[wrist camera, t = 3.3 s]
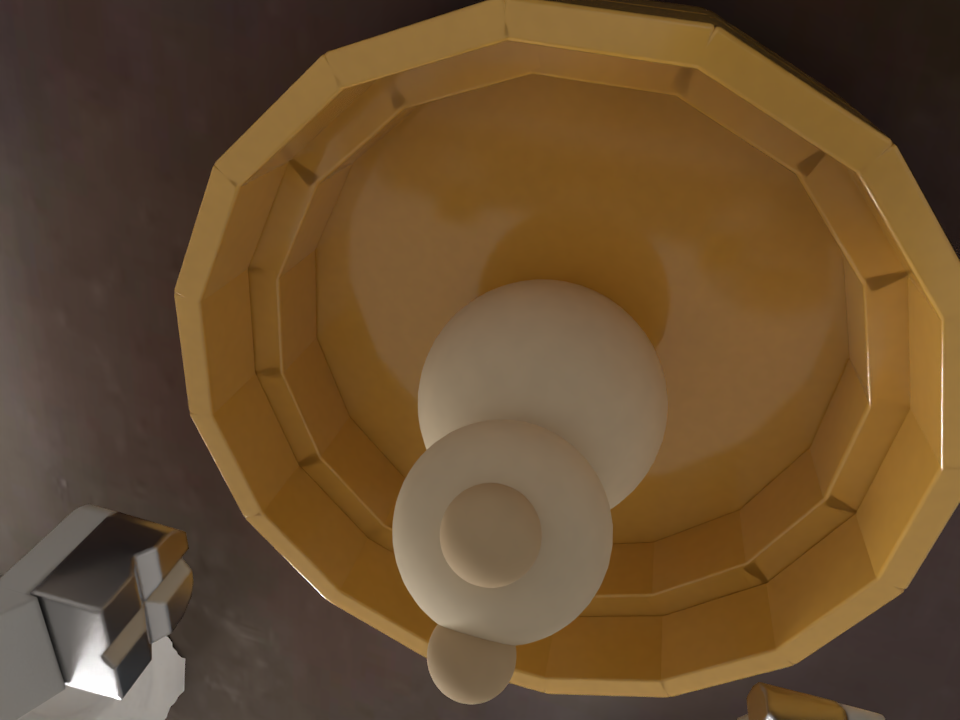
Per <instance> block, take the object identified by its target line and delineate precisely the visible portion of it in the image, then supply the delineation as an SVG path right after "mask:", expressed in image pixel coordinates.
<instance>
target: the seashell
mask: <svg viewBox="0 0 960 720" xmlns="http://www.w3.org/2000/svg"><path fill="white" fill-rule="evenodd" d="M170 641H171V640H170V639H169V638H168V637H167V636H165V637H163V638H161V639H159V640H158V641H156V642H154V643H152V660H151V661H150V663H149V664H148V665H147V667H146V668H145V669H144V671H143V672H142V674H141V675H140V676H139V678H138V679H137V680H136V682H135V683H134V684H133V686H132V687H131V688H130V690H129V691H128V692H127V694H126V695H125V696H124V698H123V699H122V700H119V699H115V698H112V697H108V696H104V695H101V694H97V693H93V692H90V691H86V690H82V689H79V688H75V687H71V686H68V685H65V687H66V688H65V690H63V691H61V692H60V693H58V694H57V695H55V696H54V697H52V698H50V699H49V700H47V701H46V702H44V703H42V704H41V705H39V706H38V707H36V708H34V709H33V710H31V711H30V712H28V713H26V714H25V715H23V716H22V717H20V718H19V719H17V720H165V719H166V718H167V715H168V712H169V710H170V707H171V705H173V704H174V703H175V702H176V700H177V698H178V696H179V695H180V694H182V693H183V692H184V681H185V659H186V658H181V657H180V656H179V655H178V654H177V651H176V650H175V649H174V648H173V647H172V642H170Z"/></svg>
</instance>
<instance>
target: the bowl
mask: <svg viewBox="0 0 960 720" xmlns="http://www.w3.org/2000/svg"><path fill="white" fill-rule="evenodd" d="M536 279H542V280H558V281H565V282H569V283H573V284H577V285H581V286H584V287H586V288H589V289H591V290H594V291H596V292H598V293H600V294H602V295H603V296H605V297H607V298H609V299H610V300H612V301H613V302H614V303H616V304H617V305H619V306H620V307H621V308H622V309H624V310H625V311H626V312H627V313H628V314H629V315H630V316H631V317H632V318H633V319H634V320H635V321H636V323H637V324H638V325H639V326H640V327H641V329H642V330H643V331H644V332H645V334H646V335H647V337H648V338H649V340H650V342H651V343H652V345H653V347H654V349H655V351H656V354H657V356H658V358H659V361H660V363H661V366H662V369H663V373H664V377H665V381H666V390H667V400H668V410H667V422H666V428H665V432H664V437H663V441H662V443H661V446H660V449H659V451H658V454H657V456H656V458H655V461H654V463H653V464H652V466H651V468H650V469H649V471H648V473H647V474H646V476H645V477H644V478H643V480H642V481H641V482H640V483H639V485H638V486H637V487H636V488H635V490H634V491H633V492H632V493H630V494H629V495H628V496H627V497H626V498H625V499H624V500H623V501H621V502H620V503H619V504H618V505H616V506H615V507H613V508H612V509H610V511H611V517H612V523H613V545H612V551H611V556H610V561H609V566H608V569H607V571H606V574H605V577H604V579H603V581H602V584H601V586H600V588H599V590H598V591H597V593H596V594H595V596H594V597H593V599H592V601H591V602H590V604H589V605H588V606H587V607H586V608H585V609H584V610H583V612H582V613H581V614H580V615H579V616H578V617H577V618H576V619H575V620H573V621H572V622H571V623H570V624H568V625H567V626H565V627H564V628H562V629H561V630H559V631H558V632H556V633H554V634H552V635H551V636H548V637H546V638H543V639H541V640H538V641H535V642H532V643H528V644H523V645H516V665H515V669H514V673H513V676H512V678H511V680H510V681H509V683H511V684H514V685H518V686H521V687H525V688H528V689H532V690H535V691H539V692H542V693H545V692H546V694H565V695H598V696H631V697H664V698H668V697H669V696H670V697H674V696H678V695H681V694H685V693H689V692H693V691H697V690H701V689H705V688H709V687H713V686H717V685H721V684H724V683H728V682H732V681H736V680H740V679H744V678H748V677H752V676H756V675H760V674H763V673H767V672H771V671H775V670H779V669H783V668H787V667H791V666H793V664H797V663H799V662H800V661H802V660H803V659H805V658H806V657H808V656H809V655H811V654H812V653H814V652H815V651H817V650H818V649H820V648H821V647H823V646H824V645H826V644H827V643H829V642H830V641H832V640H833V639H835V638H836V637H838V636H839V635H841V634H842V633H844V632H845V631H847V630H848V629H850V628H851V627H853V626H854V625H856V624H857V623H859V622H860V621H862V620H863V619H865V618H866V617H867V616H869V615H870V614H872V613H873V612H875V611H876V610H878V609H879V608H881V607H882V606H884V605H885V604H887V603H888V602H890V601H891V600H893V599H894V598H896V597H897V596H899V595H900V594H902V593H903V592H904V589H907V588H908V586H909V584H910V583H911V581H912V579H913V578H914V576H915V575H916V573H917V571H918V570H919V568H920V566H921V565H922V563H923V562H924V560H925V558H926V557H927V555H928V553H929V552H930V550H931V548H932V547H933V545H934V544H935V542H936V540H937V539H938V537H939V535H940V534H941V532H942V531H943V529H944V527H945V526H946V524H947V522H948V521H949V519H950V517H951V516H952V514H953V513H954V511H955V509H956V508H957V506H958V504H959V503H960V260H959V258H958V256H957V254H956V252H955V250H954V249H953V247H952V245H951V243H950V241H949V239H948V238H947V236H946V234H945V232H944V230H943V229H942V227H941V225H940V223H939V221H938V219H937V218H936V216H935V214H934V212H933V210H932V208H931V207H930V205H929V203H928V201H927V199H926V197H925V196H924V194H923V192H922V190H921V188H920V187H919V185H918V183H917V181H916V179H915V177H914V176H913V174H912V172H911V170H910V168H909V166H908V165H907V163H906V161H905V159H904V157H903V156H902V154H901V152H900V150H899V148H898V146H897V145H895V144H894V143H893V142H892V141H891V139H890V138H889V137H888V136H886V135H885V134H884V133H883V132H882V131H881V130H879V129H878V128H877V127H876V126H875V125H873V124H872V123H871V122H870V121H869V120H868V119H866V118H865V117H864V116H863V115H861V114H860V113H859V112H858V111H857V110H856V109H854V108H853V107H852V106H851V105H850V104H849V103H847V102H846V101H845V100H844V99H843V98H841V97H840V96H839V95H838V94H836V93H835V92H833V91H832V90H830V89H829V88H827V87H826V86H824V85H823V84H821V83H820V82H818V81H816V80H815V79H813V78H812V77H810V76H809V75H807V74H806V73H804V72H803V71H801V70H800V69H798V68H797V67H795V66H794V65H792V64H791V63H789V62H788V61H786V60H785V59H783V58H782V57H780V56H779V55H777V54H776V53H774V52H773V51H771V50H770V49H768V48H767V47H765V46H764V45H762V44H761V43H759V42H758V41H756V40H754V39H753V38H751V37H750V36H748V35H747V34H745V33H744V32H742V31H741V30H739V29H738V28H736V27H735V26H733V25H732V24H730V23H729V22H727V21H726V20H724V19H723V18H721V17H720V16H718V15H717V14H715V13H714V12H712V11H710V10H707V11H706V9H705V8H703V7H696V6H689V5H681V4H674V3H666V2H659V1H652V0H486V1H483V2H480V3H477V4H473V5H470V6H467V7H464V8H461V9H458V10H455V11H452V12H449V13H445V14H442V15H439V16H436V17H433V18H430V19H427V20H424V21H421V22H417V23H414V24H411V25H408V26H405V27H402V28H399V29H396V30H393V31H389V32H386V33H383V34H380V35H377V36H374V37H371V38H368V39H365V40H361V41H358V42H355V43H352V44H349V45H346V46H343V47H340V48H337V49H333V50H330V51H327V52H326V53H325V54H323V55H321V56H320V57H319V58H318V59H317V60H316V61H315V62H314V63H313V64H312V65H311V66H310V67H309V68H308V69H307V70H306V71H305V72H304V73H303V74H302V75H301V76H300V77H299V78H298V79H297V80H296V81H295V82H294V83H293V84H292V85H291V86H290V87H289V88H288V89H287V90H286V91H285V92H284V93H283V94H282V95H281V96H280V97H279V98H278V99H277V100H276V101H275V102H274V103H273V104H272V105H271V106H270V107H269V108H268V109H267V110H266V111H265V113H264V114H263V115H262V116H261V117H260V118H259V119H258V120H257V121H256V122H255V123H254V124H253V125H252V126H251V127H250V128H249V129H248V130H247V131H246V132H245V133H244V134H243V135H242V136H241V137H240V138H239V139H238V140H237V141H236V142H235V143H234V144H233V145H232V146H231V147H230V148H229V149H228V150H227V151H226V152H225V153H224V154H223V155H222V156H221V157H220V158H219V159H218V160H217V161H216V162H215V165H214V166H213V168H212V171H211V174H210V177H209V181H208V184H207V187H206V190H205V193H204V197H203V200H202V203H201V206H200V209H199V213H198V216H197V219H196V222H195V225H194V229H193V232H192V235H191V238H190V241H189V245H188V248H187V251H186V254H185V257H184V261H183V264H182V267H181V270H180V273H179V277H178V280H177V283H176V286H175V289H174V291H175V294H174V297H175V305H176V313H177V320H178V328H179V336H180V344H181V351H182V359H183V367H184V374H185V382H186V390H187V398H188V405H189V411H190V416H191V418H192V420H193V422H194V424H195V425H196V427H197V429H198V431H199V433H200V435H201V437H202V439H203V441H204V442H205V444H206V446H207V448H208V450H209V452H210V454H211V456H212V457H213V459H214V461H215V463H216V465H217V467H218V469H219V471H220V473H221V474H222V476H223V478H224V480H225V482H226V484H227V486H228V488H229V490H230V491H231V493H232V495H233V497H234V499H235V501H236V503H237V505H238V506H239V508H240V510H241V512H242V514H243V516H244V517H246V520H247V521H248V522H249V523H250V524H251V525H252V526H253V527H254V528H255V529H256V530H257V531H258V532H259V533H260V534H261V535H262V536H263V537H264V538H265V539H266V540H267V541H268V542H269V543H270V544H271V545H272V546H273V547H274V548H275V549H276V550H277V551H278V552H279V553H280V554H281V555H282V556H283V557H284V558H285V559H286V560H287V561H288V562H289V563H290V564H291V565H292V566H293V567H294V568H295V569H296V570H297V571H298V572H299V573H300V574H301V575H302V576H303V577H304V578H305V579H306V580H307V581H308V582H309V583H310V584H311V585H312V586H313V587H314V588H315V589H316V590H317V591H318V592H319V593H320V594H321V595H322V596H323V597H324V598H325V599H326V600H329V602H330V603H332V604H334V605H336V606H337V607H339V608H341V609H342V610H344V611H346V612H348V613H349V614H351V615H353V616H354V617H356V618H358V619H360V620H361V621H363V622H365V623H367V624H368V625H370V626H372V627H373V628H375V629H377V630H379V631H380V632H382V633H384V634H385V635H387V636H389V637H391V638H392V639H394V640H396V641H398V642H399V643H401V644H403V645H404V646H406V647H408V648H410V649H411V650H413V651H415V652H416V653H418V654H420V655H422V656H423V657H425V658H427V649H428V643H429V640H430V637H431V635H432V633H433V631H434V629H435V627H436V626H437V625H438V624H437V623H436V622H435V621H433V620H432V619H431V618H430V617H429V616H428V615H427V614H426V613H425V612H424V611H423V610H422V609H421V608H420V607H419V606H418V604H417V603H416V602H415V600H414V599H413V597H412V596H411V594H410V593H409V591H408V590H407V588H406V586H405V584H404V582H403V580H402V577H401V574H400V572H399V569H398V566H397V563H396V559H395V554H394V548H393V536H392V528H393V516H394V510H395V505H396V501H397V498H398V495H399V492H400V489H401V487H402V485H403V482H404V480H405V478H406V477H407V475H408V473H409V471H410V470H411V468H412V467H413V465H414V464H415V463H416V461H417V460H418V459H419V458H420V456H421V455H422V454H423V453H424V452H425V451H426V447H425V444H424V440H423V437H422V433H421V430H420V424H419V417H418V390H419V384H420V378H421V373H422V370H423V366H424V363H425V360H426V358H427V356H428V353H429V351H430V349H431V347H432V345H433V343H434V341H435V339H436V338H437V336H438V335H439V334H440V332H441V331H442V329H443V328H444V327H445V325H446V324H447V323H448V322H449V321H450V320H451V319H452V318H453V317H454V316H455V315H456V313H457V312H458V311H460V310H461V309H462V308H464V307H465V306H466V305H467V304H469V303H470V302H471V301H473V300H474V299H476V298H477V297H479V296H481V295H483V294H485V293H486V292H488V291H491V290H493V289H496V288H498V287H501V286H504V285H507V284H512V283H516V282H520V281H527V280H536Z"/></svg>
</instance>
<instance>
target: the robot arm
mask: <svg viewBox="0 0 960 720" xmlns="http://www.w3.org/2000/svg"><path fill="white" fill-rule="evenodd" d="M188 549H189V547H188V542H187V537H186V532H184V531H181V530H178V529H174V528H171V527H168V526H164V525H161V524H157V523H154V522H151V521H147V520H144V519H141V518H137V517H134V516H130V515H127V514H124V513H120V512H117V511H113V510H109V509H106V508H102V507H99V506H95V505H91V504H86V505H84V506H81V507H79V508H77V509H75V510H74V511H73V512H72V513H70V514H69V515H68V516H67V517H66V518H65V519H64V520H63V521H62V522H61V523H60V524H58V525H57V526H56V527H55V528H54V529H53V530H52V531H51V532H50V533H49V534H48V535H46V536H45V537H44V538H43V539H42V540H41V541H40V542H39V543H38V544H37V545H36V546H35V547H33V548H32V549H31V550H30V551H29V552H28V553H27V554H26V555H25V556H24V557H23V558H21V559H20V560H19V561H18V562H17V563H16V564H15V565H14V566H13V567H12V568H11V569H9V570H8V571H7V572H6V573H5V574H4V575H3V576H2V577H1V578H0V720H17V719H19V718H20V717H22V716H23V715H25V714H26V713H28V712H30V711H31V710H33V709H34V708H36V707H38V706H39V705H41V704H42V703H44V702H46V701H47V700H49V699H50V698H52V697H54V696H55V695H57V694H58V693H60V692H61V691H63V690H65V688H66V687H65V685H68V686H71V687H75V688H79V689H82V690H86V691H90V692H93V693H97V694H101V695H104V696H108V697H112V698H115V699H119V700H122V699H123V698H124V696H125V695H126V694H127V692H128V691H129V690H130V688H131V687H132V686H133V684H134V683H135V682H136V680H137V679H138V678H139V676H140V675H141V674H142V672H143V671H144V669H145V668H146V667H147V665H148V664H149V663H150V661H151V660H152V643H154V642H156V641H158V640H159V639H161V638H163V637H165V636H167V635H169V634H171V633H172V632H173V630H174V629H175V627H176V626H177V624H178V623H179V622H180V620H181V619H182V617H183V616H184V613H185V611H186V608H187V606H188V604H189V601H190V599H191V596H192V589H193V574H192V570H191V568H190V567H189V566H188V565H187V563H186V562H185V561H184V560H183V558H182V556H183V555H184V554H185V553H186V551H187V550H188ZM747 708H748V714H747V715H744V716H742V717H739V718H737V719H736V720H886V719H885V718H884V716H883V715H882V714H878V713H875V712H871V711H867V710H863V709H860V708H856V707H852V706H848V705H844V704H841V703H837V702H836V701H833V700H829V699H825V698H821V697H817V696H813V695H809V694H805V693H801V692H797V691H793V690H789V689H785V688H781V687H777V686H773V685H769V684H765V683H761V682H758V683H757V684H755V685H754V686H753V687H752V689H751V691H750V693H749V695H748V696H747Z"/></svg>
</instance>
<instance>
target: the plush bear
mask: <svg viewBox="0 0 960 720" xmlns="http://www.w3.org/2000/svg"><path fill="white" fill-rule="evenodd" d="M667 410H668V400H667V390H666V381H665V377H664V373H663V369H662V366H661V363H660V361H659V358H658V356H657V354H656V351H655V349H654V347H653V345H652V343H651V342H650V340H649V338H648V337H647V335H646V334H645V332H644V331H643V330H642V329H641V327H640V326H639V325H638V324H637V323H636V321H635V320H634V319H633V318H632V317H631V316H630V315H629V314H628V313H627V312H626V311H625V310H624V309H622V308H621V307H620V306H619V305H617V304H616V303H614V302H613V301H612V300H610V299H609V298H607V297H605V296H603V295H602V294H600V293H598V292H596V291H594V290H591V289H589V288H586V287H584V286H581V285H577V284H573V283H569V282H565V281H558V280H542V279H536V280H527V281H520V282H516V283H512V284H507V285H504V286H501V287H498V288H496V289H493V290H491V291H488V292H486V293H485V294H483V295H481V296H479V297H477V298H476V299H474V300H473V301H471V302H470V303H469V304H467V305H466V306H465V307H464V308H462V309H461V310H460V311H458V312H457V313H456V315H455V316H454V317H453V318H452V319H451V320H450V321H449V322H448V323H447V324H446V325H445V327H444V328H443V329H442V331H441V332H440V334H439V335H438V336H437V338H436V339H435V341H434V343H433V345H432V347H431V349H430V351H429V353H428V356H427V358H426V360H425V363H424V366H423V370H422V373H421V378H420V384H419V390H418V417H419V424H420V430H421V433H422V437H423V440H424V444H425V447H426V451H425V452H424V453H423V454H422V455H421V456H420V458H419V459H418V460H417V461H416V463H415V464H414V465H413V467H412V468H411V470H410V471H409V473H408V475H407V477H406V478H405V480H404V482H403V485H402V487H401V489H400V492H399V495H398V498H397V501H396V505H395V510H394V516H393V528H392V536H393V548H394V554H395V559H396V563H397V566H398V569H399V572H400V574H401V577H402V580H403V582H404V584H405V586H406V588H407V590H408V591H409V593H410V594H411V596H412V597H413V599H414V600H415V602H416V603H417V604H418V606H419V607H420V608H421V609H422V610H423V611H424V612H425V613H426V614H427V615H428V616H429V617H430V618H431V619H432V620H433V621H435V622H436V623H437V624H438V625H437V626H436V627H435V629H434V631H433V633H432V635H431V637H430V640H429V643H428V649H427V663H428V669H429V672H430V675H431V677H432V679H433V681H434V683H435V684H436V686H437V687H438V688H439V689H440V691H441V692H442V693H443V694H445V695H446V696H447V697H449V698H450V699H452V700H454V701H457V702H460V703H464V704H479V703H484V702H486V701H489V700H491V699H493V698H494V697H496V696H497V695H498V694H500V693H501V692H502V691H503V690H504V689H505V687H506V686H507V685H508V683H509V681H510V680H511V678H512V676H513V673H514V669H515V665H516V645H523V644H528V643H532V642H535V641H538V640H541V639H543V638H546V637H548V636H551V635H552V634H554V633H556V632H558V631H559V630H561V629H562V628H564V627H565V626H567V625H568V624H570V623H571V622H572V621H573V620H575V619H576V618H577V617H578V616H579V615H580V614H581V613H582V612H583V610H584V609H585V608H586V607H587V606H588V605H589V604H590V602H591V601H592V599H593V597H594V596H595V594H596V593H597V591H598V590H599V588H600V586H601V584H602V581H603V579H604V577H605V574H606V571H607V569H608V566H609V561H610V556H611V551H612V545H613V523H612V517H611V511H610V509H612V508H613V507H615V506H616V505H618V504H619V503H620V502H621V501H623V500H624V499H625V498H626V497H627V496H628V495H629V494H630V493H632V492H633V491H634V490H635V488H636V487H637V486H638V485H639V483H640V482H641V481H642V480H643V478H644V477H645V476H646V474H647V473H648V471H649V469H650V468H651V466H652V464H653V463H654V461H655V458H656V456H657V454H658V451H659V449H660V446H661V443H662V441H663V437H664V432H665V428H666V422H667Z"/></svg>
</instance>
